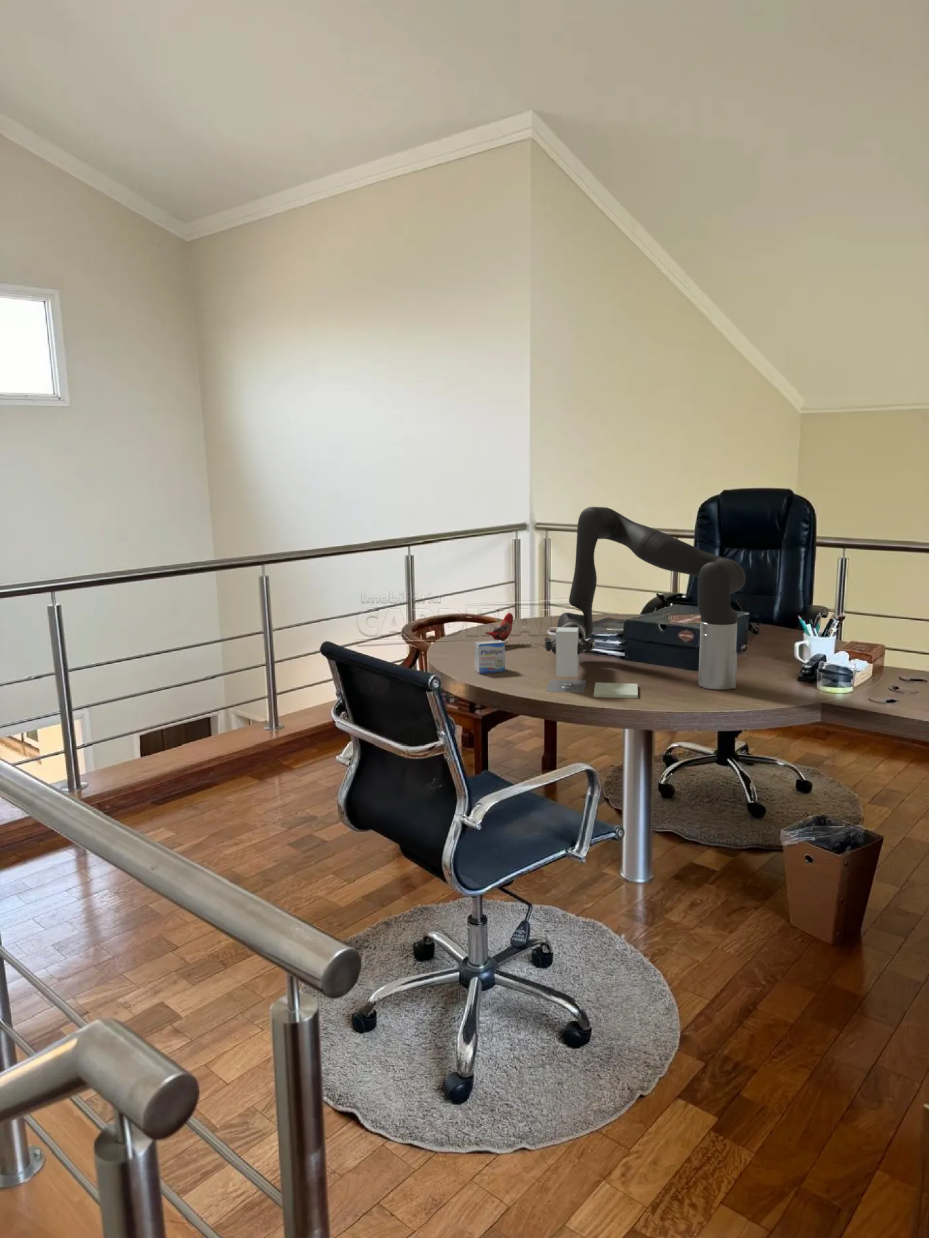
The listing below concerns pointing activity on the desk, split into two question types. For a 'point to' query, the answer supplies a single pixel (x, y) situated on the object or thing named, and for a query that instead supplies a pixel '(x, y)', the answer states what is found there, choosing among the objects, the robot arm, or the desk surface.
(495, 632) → the decorative bird figurine
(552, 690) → the tile
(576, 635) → the light grey block
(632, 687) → the sage mat
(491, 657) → the medicine box
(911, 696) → the desk surface
